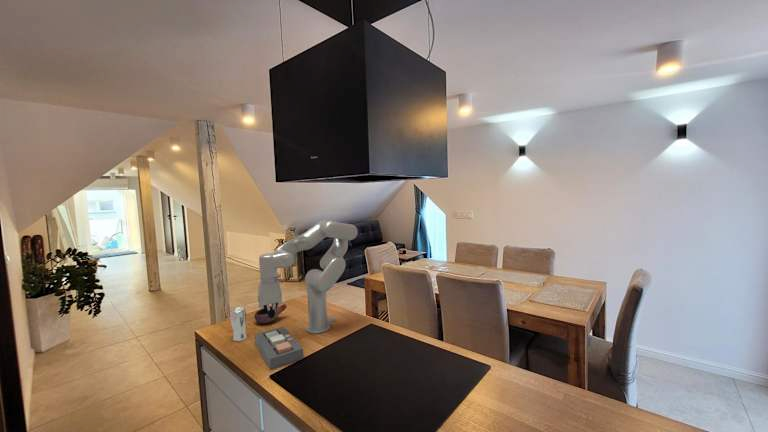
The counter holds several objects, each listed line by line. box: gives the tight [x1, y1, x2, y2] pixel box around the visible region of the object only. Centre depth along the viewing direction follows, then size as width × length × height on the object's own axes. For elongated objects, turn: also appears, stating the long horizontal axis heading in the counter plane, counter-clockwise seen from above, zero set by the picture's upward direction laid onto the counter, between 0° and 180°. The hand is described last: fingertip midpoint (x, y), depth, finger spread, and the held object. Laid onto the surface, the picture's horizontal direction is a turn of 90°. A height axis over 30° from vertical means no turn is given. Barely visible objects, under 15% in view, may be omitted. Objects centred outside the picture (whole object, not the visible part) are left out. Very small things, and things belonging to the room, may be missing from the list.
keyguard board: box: [253, 326, 304, 370], centre depth 145 cm, size 14×28×5 cm, turn 34°
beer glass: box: [230, 306, 248, 342], centre depth 157 cm, size 7×7×15 cm
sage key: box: [265, 331, 280, 339], centre depth 152 cm, size 6×6×3 cm
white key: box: [269, 334, 285, 346], centre depth 145 cm, size 6×6×3 cm
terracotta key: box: [275, 341, 292, 355], centre depth 137 cm, size 6×6×3 cm
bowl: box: [253, 303, 288, 324], centre depth 178 cm, size 16×13×8 cm
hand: (271, 317), depth 151 cm, fingers closed
